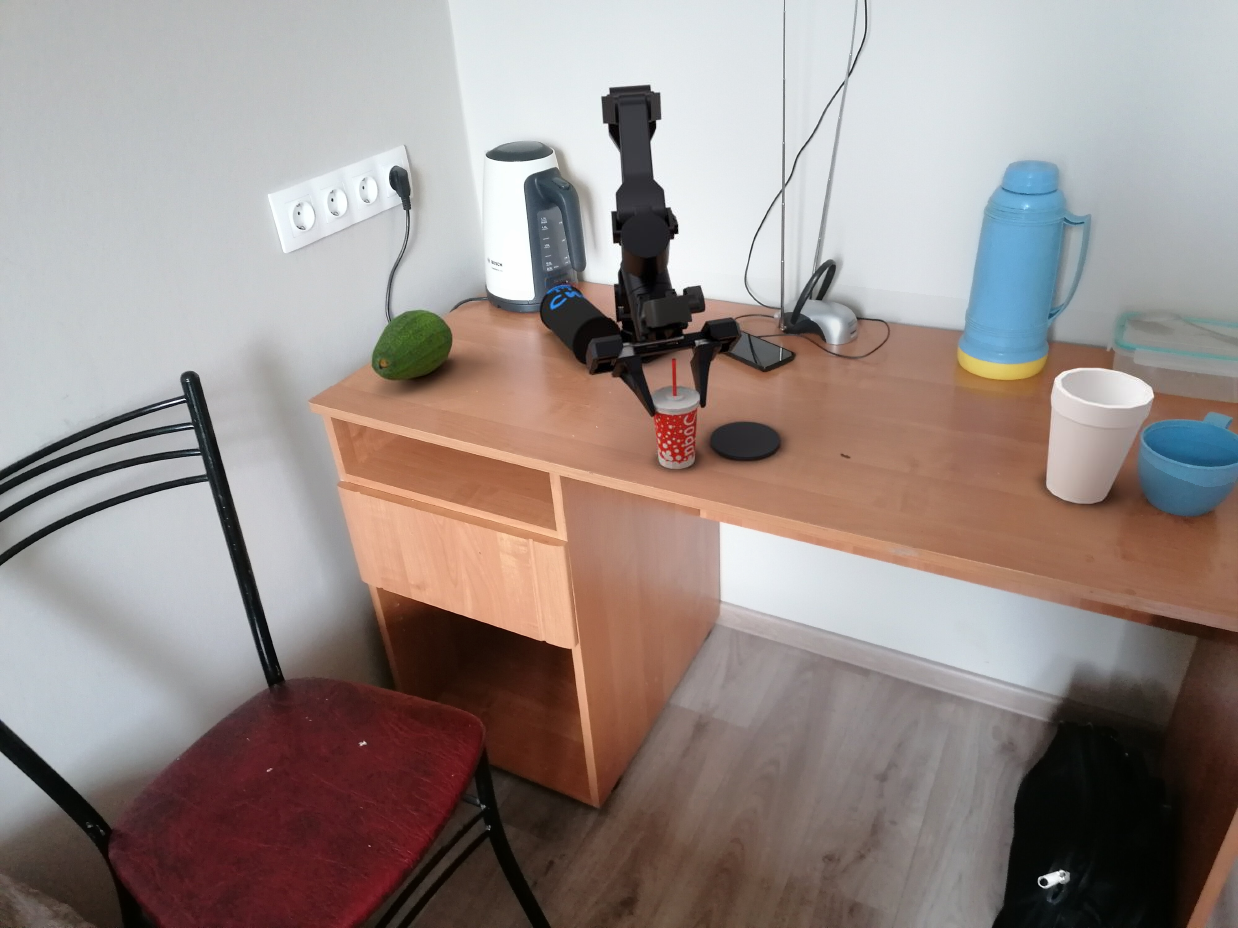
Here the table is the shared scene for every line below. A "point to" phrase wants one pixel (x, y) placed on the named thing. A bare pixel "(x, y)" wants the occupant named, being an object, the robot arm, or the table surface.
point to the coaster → (745, 441)
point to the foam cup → (1092, 430)
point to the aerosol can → (575, 319)
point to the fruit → (412, 345)
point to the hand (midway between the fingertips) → (678, 411)
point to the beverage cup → (675, 423)
